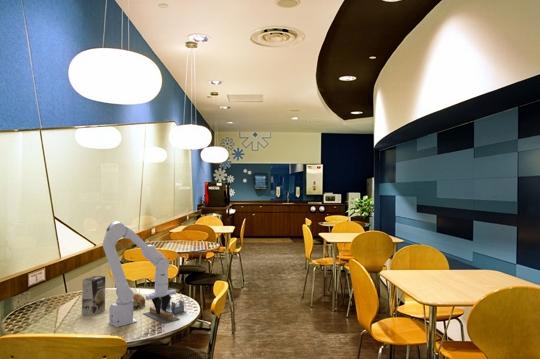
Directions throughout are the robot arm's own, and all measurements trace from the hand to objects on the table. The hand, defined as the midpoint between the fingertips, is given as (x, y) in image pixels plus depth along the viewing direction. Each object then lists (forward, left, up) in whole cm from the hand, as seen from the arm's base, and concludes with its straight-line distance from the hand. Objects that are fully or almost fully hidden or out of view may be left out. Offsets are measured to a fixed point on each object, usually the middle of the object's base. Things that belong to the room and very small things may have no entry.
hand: (161, 312), depth 183 cm
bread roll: (-1, +23, -2) cm, 23 cm away
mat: (0, 0, -2) cm, 2 cm away
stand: (+8, +6, -2) cm, 10 cm away
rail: (0, 0, -1) cm, 1 cm away
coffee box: (-19, +28, -2) cm, 34 cm away
